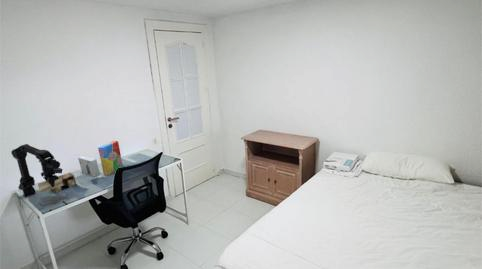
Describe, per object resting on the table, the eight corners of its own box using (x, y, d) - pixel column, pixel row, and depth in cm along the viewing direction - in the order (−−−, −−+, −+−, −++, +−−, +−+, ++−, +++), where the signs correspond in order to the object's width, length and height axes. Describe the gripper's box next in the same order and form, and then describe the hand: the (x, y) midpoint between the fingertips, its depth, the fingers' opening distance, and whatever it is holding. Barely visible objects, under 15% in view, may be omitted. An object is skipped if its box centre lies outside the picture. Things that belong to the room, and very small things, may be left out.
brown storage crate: (54, 192, 199) (51, 182, 196) (50, 189, 204) (47, 179, 202) (76, 185, 211) (73, 175, 208) (72, 182, 216) (70, 172, 213)
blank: (63, 185, 191) (61, 178, 189) (41, 192, 181) (38, 185, 179) (61, 183, 193) (60, 176, 192) (39, 190, 183) (37, 183, 182)
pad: (42, 205, 181) (42, 205, 181) (39, 202, 185) (39, 202, 185) (67, 196, 193) (67, 195, 193) (64, 193, 197) (64, 193, 197)
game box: (108, 175, 227) (102, 147, 219) (103, 175, 228) (97, 147, 220) (123, 166, 246) (118, 140, 238) (118, 166, 247) (113, 140, 239)
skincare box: (81, 172, 235) (77, 157, 230) (86, 170, 239) (83, 155, 235) (94, 176, 225) (91, 160, 221) (100, 174, 230) (96, 158, 225)
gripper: (64, 166, 183) (68, 185, 188) (55, 161, 194) (60, 178, 199) (46, 171, 175) (51, 191, 179) (38, 165, 186) (43, 184, 190)
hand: (52, 186), depth 187 cm, fingers closed on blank, 4 cm apart
